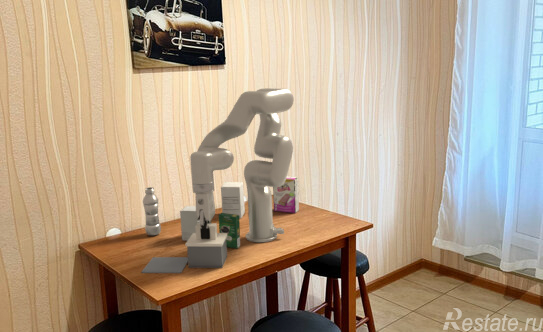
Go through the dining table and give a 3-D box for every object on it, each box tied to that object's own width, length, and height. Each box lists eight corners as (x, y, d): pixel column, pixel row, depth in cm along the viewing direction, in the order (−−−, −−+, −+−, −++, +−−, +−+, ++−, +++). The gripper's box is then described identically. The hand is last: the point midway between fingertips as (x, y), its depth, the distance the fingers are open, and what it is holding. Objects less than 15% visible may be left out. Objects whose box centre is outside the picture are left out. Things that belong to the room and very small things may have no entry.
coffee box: (241, 246, 198) (239, 214, 195) (238, 249, 195) (236, 216, 193) (223, 244, 201) (221, 212, 199) (219, 246, 199) (217, 214, 196)
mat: (190, 258, 188) (190, 257, 188) (181, 273, 176) (181, 271, 176) (153, 258, 190) (153, 257, 190) (141, 272, 177) (141, 271, 177)
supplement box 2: (226, 212, 242) (224, 181, 239) (245, 212, 241) (243, 181, 237) (222, 218, 233) (220, 186, 230) (241, 218, 232) (239, 186, 229)
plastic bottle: (147, 238, 211) (142, 191, 207) (144, 233, 217) (140, 187, 213) (163, 235, 213) (158, 189, 209) (159, 230, 220) (155, 185, 215)
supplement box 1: (199, 241, 205) (196, 211, 203) (181, 240, 207) (179, 210, 204) (205, 234, 212) (203, 205, 210) (188, 234, 214) (185, 205, 211)
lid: (227, 235, 187) (226, 219, 186) (222, 246, 177) (221, 229, 175) (193, 235, 188) (191, 220, 187) (185, 246, 178) (184, 230, 177)
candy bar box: (273, 211, 240) (272, 177, 237) (277, 208, 245) (276, 175, 241) (295, 213, 236) (294, 179, 232) (299, 210, 240) (298, 176, 237)
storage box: (227, 256, 189) (226, 236, 187) (222, 267, 179) (221, 246, 177) (195, 256, 190) (193, 236, 188) (188, 267, 180) (186, 246, 178)
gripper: (209, 193, 170) (212, 245, 174) (218, 181, 186) (221, 229, 190) (186, 193, 171) (190, 245, 175) (198, 181, 187) (201, 229, 191)
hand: (206, 236), depth 182 cm, fingers closed on lid, 2 cm apart
